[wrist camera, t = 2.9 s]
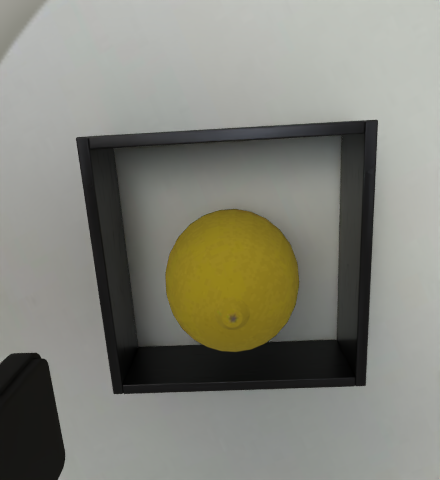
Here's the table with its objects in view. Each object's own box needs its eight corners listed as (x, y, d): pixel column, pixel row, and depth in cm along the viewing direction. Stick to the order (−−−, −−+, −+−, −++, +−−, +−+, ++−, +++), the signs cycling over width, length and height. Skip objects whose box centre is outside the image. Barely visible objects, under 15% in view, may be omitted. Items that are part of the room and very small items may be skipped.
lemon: (265, 309, 22) (283, 409, 14) (166, 280, 22) (130, 366, 14) (300, 214, 20) (343, 267, 13) (195, 181, 20) (173, 215, 12)
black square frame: (130, 355, 23) (113, 394, 19) (102, 135, 20) (75, 137, 16) (345, 347, 22) (366, 386, 19) (352, 121, 19) (378, 119, 16)
